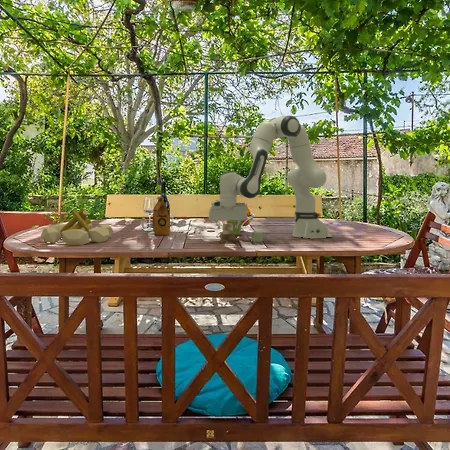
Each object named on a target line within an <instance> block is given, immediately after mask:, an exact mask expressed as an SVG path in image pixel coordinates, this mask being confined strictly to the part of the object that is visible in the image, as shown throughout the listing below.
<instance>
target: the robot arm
mask: <svg viewBox="0 0 450 450" xmlns="http://www.w3.org/2000/svg"><path fill="white" fill-rule="evenodd" d="M276 138H286V139H287V140H288V144H289V151H290V155H291V159H292V162H293V163H294V164H296V165H297V166H298V167H299V168H294V169H292V170H290V171H289V172H288V174H287V179H286V180H287V183H288V184H289V186H290V187H291V188H292V190H293V193H294V197H295V198H294V199H295V211H294V227H293V231H292V234H291V236H292V237H296V238H301V237H303V238H302V239H308V238H310V239H327V238H326V237H333V235H332V234H330V233H329V229H328V226H327V225H326V223H324V222H323V221H321V219H319V218H320V217H321V216H322V214H321V213H319V212H316V198H315V196H314V195H313V194H312V192H311V190H310V189H315V188H321V187H323V186H325V184H326V182H327V174H326V172H325V170H324V169H322V168H321V167H320V166H319V165H318V164H317V162H316V160H315V158H314V156H313V153H312V148H311V144H310V139H309V135H308V132H307V130H306V128H305V126H304V125H303V124H300V121H299V119H298V118H297V117H296V116H294V115H281V116H277V117H273V118H271V119H270V120H269V121H268V120H265V121H261V122H260V123H259V125H258V126H257V128H256V130H255V131H254V134H253V136H252V138H251V140H250V144H249V149H248V150H249V153H250V155H251V156H252V159H253V160H252V165H251V168H250V171H249V174H248V176H247V177H243V176H241V175H240V174H238V173H237V172H236V171H226V172H223V173H222V174H221V175H220V180H219V191H220V192H219V199H217V200H214V201H211V203H210V205H211V206H210V207H209V211H208V219H209V220H210V221H215V224H216V225H217V226H216V227H217V230H221V225H220V224H219V221H227V220H237V222H238V224H237V225H235V229H238V225H239V224H240V220H243V221H247V220H248V212H247V211H248V204H247V203H246V202H237V197H238V196H240V197H243V198H247V199H254V198H256V197H257V196H258V195H259V194H260V191H261V180H262V177H263V173H264V170H265V166H266V164H267V160H268V156H269V153H270V151H271V149H272V145H273V143H274V140H275V139H276Z"/></svg>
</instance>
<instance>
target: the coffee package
mask: <svg viewBox="0 0 450 450" xmlns="http://www.w3.org/2000/svg"><path fill="white" fill-rule="evenodd" d="M156 199H157V202H156V204H155V205H154V206H153V209H152V229H153V233H154V234H155V235H156V236H169V235H170V232H171V223H170V222H171V221H170V215H169V211H168V207H167V206H166V203H165V201H164V197H162V196H157V197H156Z"/></svg>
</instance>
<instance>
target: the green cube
mask: <svg viewBox="0 0 450 450" xmlns="http://www.w3.org/2000/svg"><path fill="white" fill-rule="evenodd" d="M251 241H252V242H253V243H257V242H258V243H263V242H264V232H263V231H262V230H257V231H255V230H251Z"/></svg>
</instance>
